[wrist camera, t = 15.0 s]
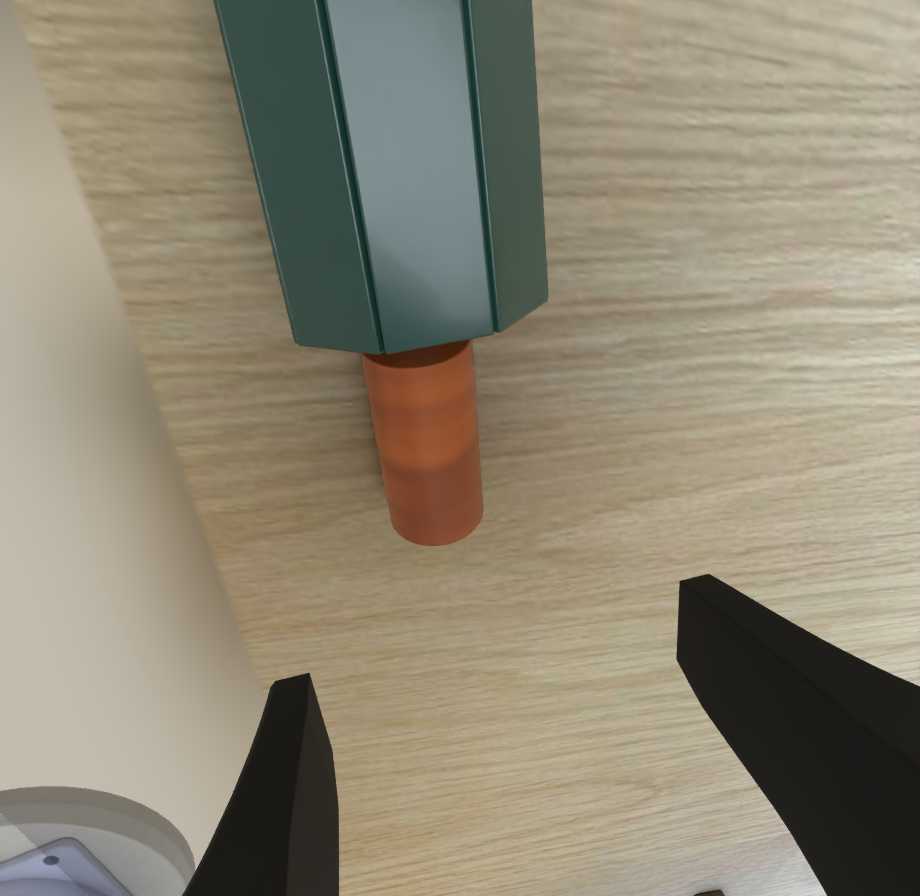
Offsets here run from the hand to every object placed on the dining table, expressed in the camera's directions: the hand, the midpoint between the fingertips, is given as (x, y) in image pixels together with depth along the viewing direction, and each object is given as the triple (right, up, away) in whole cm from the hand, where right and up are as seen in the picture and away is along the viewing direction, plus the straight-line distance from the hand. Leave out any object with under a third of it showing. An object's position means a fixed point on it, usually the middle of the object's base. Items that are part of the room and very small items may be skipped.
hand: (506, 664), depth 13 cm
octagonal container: (-3, +13, +3) cm, 14 cm away
